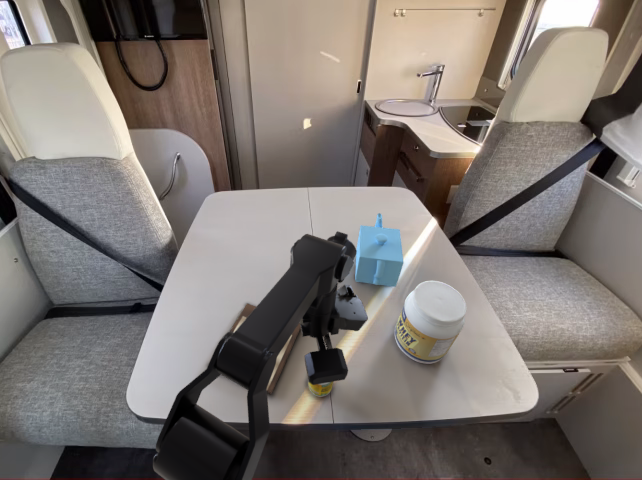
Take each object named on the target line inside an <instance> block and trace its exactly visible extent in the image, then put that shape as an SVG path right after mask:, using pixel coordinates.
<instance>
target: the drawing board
mask: <svg viewBox="0 0 642 480" xmlns="http://www.w3.org/2000/svg"><path fill="white" fill-rule="evenodd" d="M256 307H257V305H252V304H250V303H246V305H244V307H243V309H242V310H241V312H240V314H239V316H238V317H237V319H236V320H235V322H234V324H233V325H232V327H231V328H230V330H229V332H230V331H232V332H235V331H236V330H237V329H238V327H239V326H240V325H241V324H242V323H243V322H244V320H245V319H246V318H247V317H248V316H249V315H250V314H251V312H252V311H253V310H254V309H255V308H256ZM300 331H301V327H300V322H299V324H298V325H297V327H296V328H295V330H294V332H293V333H292V335H291V336H290V338H289V339H288V341H287V342H286V344H285V346H284V347H283V349H282V350H281V352H280V353H279V355H278V356H277V360H276V364H275V367H274V370H273V373H272V375H271V378H270V381H269V383H268V386H267V394H270V395H273V392H274V390H275V388H276V386H277V383H278V381H279V379H280V376H281V374H282V372H283V369H284V368H285V365H286V363H287V361H288V358H289V356H290V353H291V351H292V349H293V347H294V344H295V342H296V340H297V337H298V335H299V333H300Z"/></svg>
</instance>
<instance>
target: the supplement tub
mask: <svg viewBox="0 0 642 480" xmlns="http://www.w3.org/2000/svg"><path fill="white" fill-rule="evenodd" d="M467 309H468V308H467V302H466V301H465V299H464V296H463V295H462V294H461V293H460V292H459V291H458V290H457V289H455V288H454V287H453V286H451V285H449V284H447V283H445V282H442V281H439V280H426V281H422V282H420V283H419V284H417V285H416V287H415V288H414V289H413V290H412V291H410V293H409V294H408V295H407V296H406V297H405V300H404V304H403V306H402V308H401V311H400V313H399V316H398V319H397V321H396V323H395V326H394V339H395V342H396V344H397V346H398V348H399V349H400V351H401V352H402V353H403V354H404V355H405V356H407V357H408V358H409V359H411V360H413V361H415V362H417V363H421V364H427V365H429V364H435V363H438V362H440V361H441V360H443V358H445V357H446V355H447V353H448V352H449V351H450V350H451V347H452V346H453V345H454V342H455V341H456V340H457V338H458V337H459V335H460V333H461V332H462V331H463V329H464V326H465V322H466V317H465V316H466V313H467Z"/></svg>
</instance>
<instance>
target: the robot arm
mask: <svg viewBox="0 0 642 480" xmlns="http://www.w3.org/2000/svg"><path fill="white" fill-rule="evenodd" d="M348 237H349V234H348V233H344V232H341V231H338V230H337V231H336V232H335V233H334V235H331V236H329V237H328V238H327V239H324V238H322V237H318V236H315V235H312V234H309V233H305V234H304V235H302V237H301V238H299V239H297V240H296V241H295V242H294V243H293V245H292V246H291V248H290V260H289V261H290V262H289V267H288V269H287V270H286V272H284V274H283V275H282V276H281V277H280V278H279V280H278V281H277V282H276V283H275V284H274V285H273V286H272V288H271V289H270V290H269V291H268V292H267V293H266V295H265V296H264V297H263V298H262V299H261V301H260V302H259V303H258V304H257V305H256V308H255V309H254V310H253V311H252V312H251V314H250V315H249V316H248V317H247V318H246V319H245V320H244V322H243V323H242V324H241V325H240V326H239V327H238V329H237V330H236V331H235V332H232V331H230V330H229V331H227V332H226V333H225V334H224V335H223V336H222V337H221V339H220V340H219V341H218V342H217V345H216V347H215V349H214V350H213V353H212V356H211V358H210V360H209V362H208V365H207V367H206V369H204V371H201V373H200V374H198V375H197V376H196V377H195V378H194V379H192V380H191V381H190V382H189V383H188V384H187V385H185V386H184V387H183V388H182V389H181V390H179V391H178V393H177V394H176V396H175V399H174V401H173V403H172V405H171V408H170V410H169V412H168V415H167V417H166V419H165V421H164V423H163V425H162V428H161V430H160V433H159V435H158V436H157V437H158V438H157V440H156V443H155V451H156V453H155V454H154V455H153V458H152V468H153V471H154V472H155V473H156V474H157V475H158V476H160V477H161V478H162V479H163V480H253V478H254V475H255V473H256V470H257V467H258V464H259V461H260V460H261V456H262V454H263V451H264V447H265V445H266V443H267V440H268V437H269V434H270V430H271V425H270V424H271V423H270V413H269V412H270V411H269V400H268V392H267V386H268V383H269V381H270V378H271V375H272V373H273V370H274V367H275V364H276V360H277V356H278V355H279V353H280V352H281V350H282V349H283V347H284V346H285V344H286V342H287V341H288V339H289V338H290V336H291V335H292V333H293V332H294V330H295V328H296V327H297V325H298V324H299V323H300V327H301V329H300V331H301V336H302V338H305V337H310V338H313V339H315V341H316V344H317V350H314V351H310V352H308V353H307V354H305V355H304V366H305V371H306V376H307V382H308V381H309V383H311V384H312V385H316V384H322V383H328V382H333V383H334V382H338V381H345V380H346V378H347V376H348V374H349V369H348V364H347V361H346V358H345V354H344V352H343V349H341V348H339V347H333V343H332V341H331V340H332V339H331V336H334V335H339V332H340V330H341V331H354V332H359V331H360V330H361V329H362V327H363V326H364V325H365V324H366V322H367V321H368V320H369V317H368V314H367V311H366V308H365V306H364V303H363V302H362V300H361V299H360V298H359V296H358V294H357V293H356V294H355V292H354V289H353V286H352V285H351V284H343V285H341V287H340V288H338V285H339V284H341V283H343V281H344V280H345V279H346V277H347V276H348V275H350V273H351V270H352V268H353V266H354V264H355V262H354V261H355V259H356V254H357V250H356V249H357V247H356V246H355V244H353V242H352V241H351V240H350V239H348ZM220 376H223V377H225V378H226V379H228V380H231V381H232V382H233V383H235V384H237V385H239V386H240V387H242V388H244V389H245V390H247V395H246V403H247V405H246V406H247V418H248V436H249V437H248V436H246V435H245V434H244V433H242V432H240V431H239V430H237V429H236V428H235V427H233V426H231V425H230V424H228V423H226V422H225V421H223V420H222V419H220V418H219V417H217V416H216V415H214V414H213V413H211V412H209V411H208V410H206V409H205V408H203V407H202V406H200V405H199V404H198V401H199V399H200V398H201V394H202V391H204V390H205V389H206V388H207V387H208V386H209V385H210V384H212V383H213V382H214V381H215V380H216V379H218V378H219V377H220Z"/></svg>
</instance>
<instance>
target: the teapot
mask: <svg viewBox="0 0 642 480" xmlns="http://www.w3.org/2000/svg"><path fill="white" fill-rule="evenodd" d="M400 230H401V229H400V228H391V227H383V215H382V213H380V212H379V213H377V215H376V221H375V224H374V226H372V225H363V224H360V226H359V232H358V237H357V243H356V250H357V254H356V256H355V276H354V279H355V280H354V282H356V283H357V282H358V283H364V284H372V285H374V286H375V285H376V286H377V285H379V286H386V287H394V288H397V284H398V281H399V278H400V275H401V272H402V269H403V266H404V263H405V262H404V256H403V255H404V254H403V246H402V245H403V244H402V237H401V231H400Z"/></svg>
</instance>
